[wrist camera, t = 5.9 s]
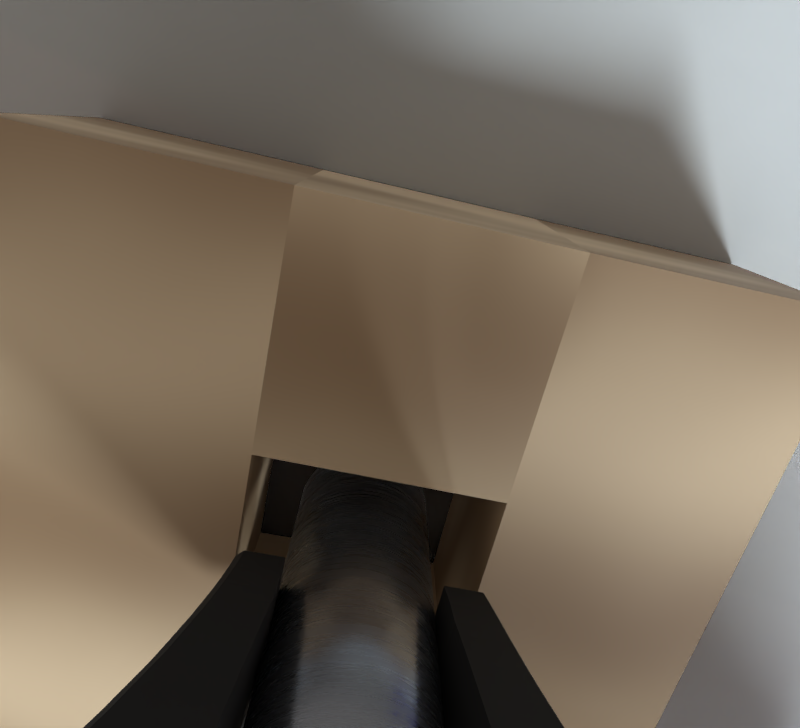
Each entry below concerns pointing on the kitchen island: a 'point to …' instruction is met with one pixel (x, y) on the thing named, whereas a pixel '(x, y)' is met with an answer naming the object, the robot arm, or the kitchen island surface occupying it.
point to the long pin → (353, 613)
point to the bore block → (363, 408)
